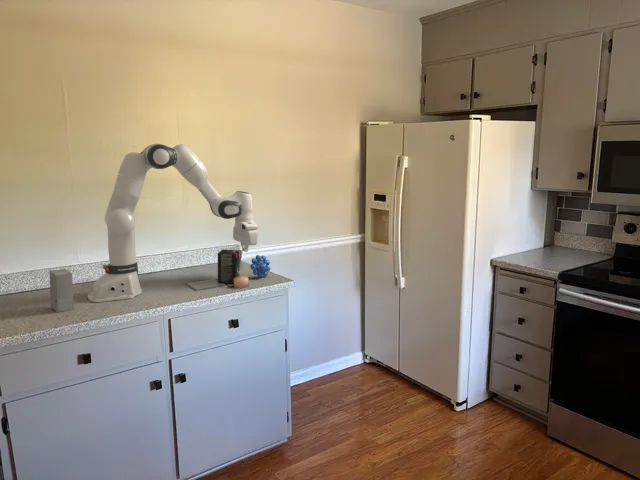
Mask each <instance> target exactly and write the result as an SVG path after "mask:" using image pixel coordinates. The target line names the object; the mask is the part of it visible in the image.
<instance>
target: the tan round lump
mask: <svg viewBox="0 0 640 480" xmlns="http://www.w3.org/2000/svg"><path fill="white" fill-rule="evenodd" d="M249 284H250V283H249V277H248V276H242V275H240V277H235V278H234V283H233V288H235V289H246V288H249V286H250V285H249Z"/></svg>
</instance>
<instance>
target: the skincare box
mask: <svg viewBox="0 0 640 480" xmlns="http://www.w3.org/2000/svg"><path fill="white" fill-rule="evenodd" d="M48 272H49V287H50V288H49V290H50V291H49V292H50V308H51V309H52V310H53V311H54V312H57V313H61V312H62V313H63V312H66V311H72V310H74V309H75V308H74V292H73V291H74V290H73V289H74V288H73V286H74V285H73V273H72V271H70V270H69V269H66V268H62V269H61V268H60V269H53V270H49V271H48Z"/></svg>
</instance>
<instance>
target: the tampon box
mask: <svg viewBox="0 0 640 480" xmlns="http://www.w3.org/2000/svg"><path fill="white" fill-rule="evenodd" d="M240 263H241V250H240V249H239V250H238V249H237V250H235V249H221V250H220V251H218V252H217V280H218V282H222V283H224V284H234V278H235V277H240V276H241V275H240V274H241V270H240V269H241V268H240V266H241V265H240Z"/></svg>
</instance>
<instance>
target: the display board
mask: <svg viewBox="0 0 640 480" xmlns="http://www.w3.org/2000/svg"><path fill="white" fill-rule="evenodd" d="M186 286H188V287H190V288H191V289H193V290H195V291H203V290H209V289H210V290H211V289H215V288H221V287H225V286H226V283H222V282H218V279H216V278H212V279H204V280H200V281H193V282H187V283H186Z"/></svg>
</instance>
